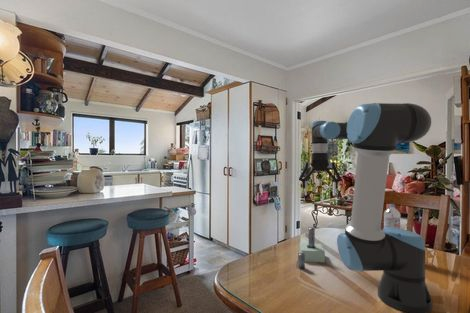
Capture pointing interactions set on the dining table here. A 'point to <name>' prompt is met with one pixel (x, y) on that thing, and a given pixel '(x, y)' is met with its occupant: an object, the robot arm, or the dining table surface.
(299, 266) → the short pin
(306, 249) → the hole block
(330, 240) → the dining table surface
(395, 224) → the water bottle
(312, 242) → the long pin
